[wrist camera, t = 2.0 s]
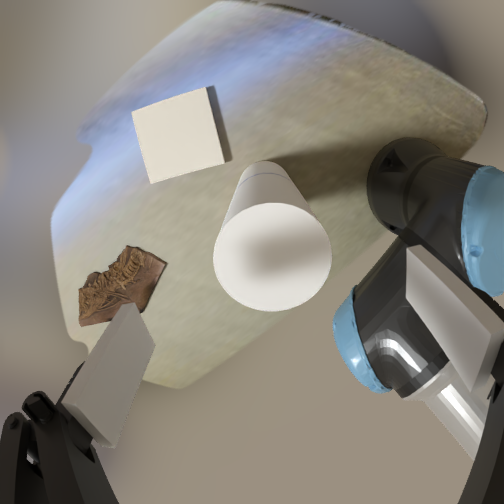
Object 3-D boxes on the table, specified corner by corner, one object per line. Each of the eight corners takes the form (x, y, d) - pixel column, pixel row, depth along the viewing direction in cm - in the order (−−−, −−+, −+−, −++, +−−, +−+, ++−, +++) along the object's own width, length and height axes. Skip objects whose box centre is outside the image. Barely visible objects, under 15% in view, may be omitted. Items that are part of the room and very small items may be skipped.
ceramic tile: (206, 88, 35) (205, 87, 35) (225, 162, 40) (224, 163, 39) (134, 112, 37) (131, 112, 36) (152, 182, 41) (150, 183, 40)
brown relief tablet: (144, 232, 44) (142, 234, 43) (185, 286, 48) (184, 289, 47) (60, 299, 50) (57, 301, 49) (94, 339, 53) (92, 342, 52)
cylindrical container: (260, 150, 39) (264, 176, 16) (300, 182, 40) (355, 252, 17) (228, 190, 41) (190, 269, 18) (268, 220, 43) (279, 328, 20)
